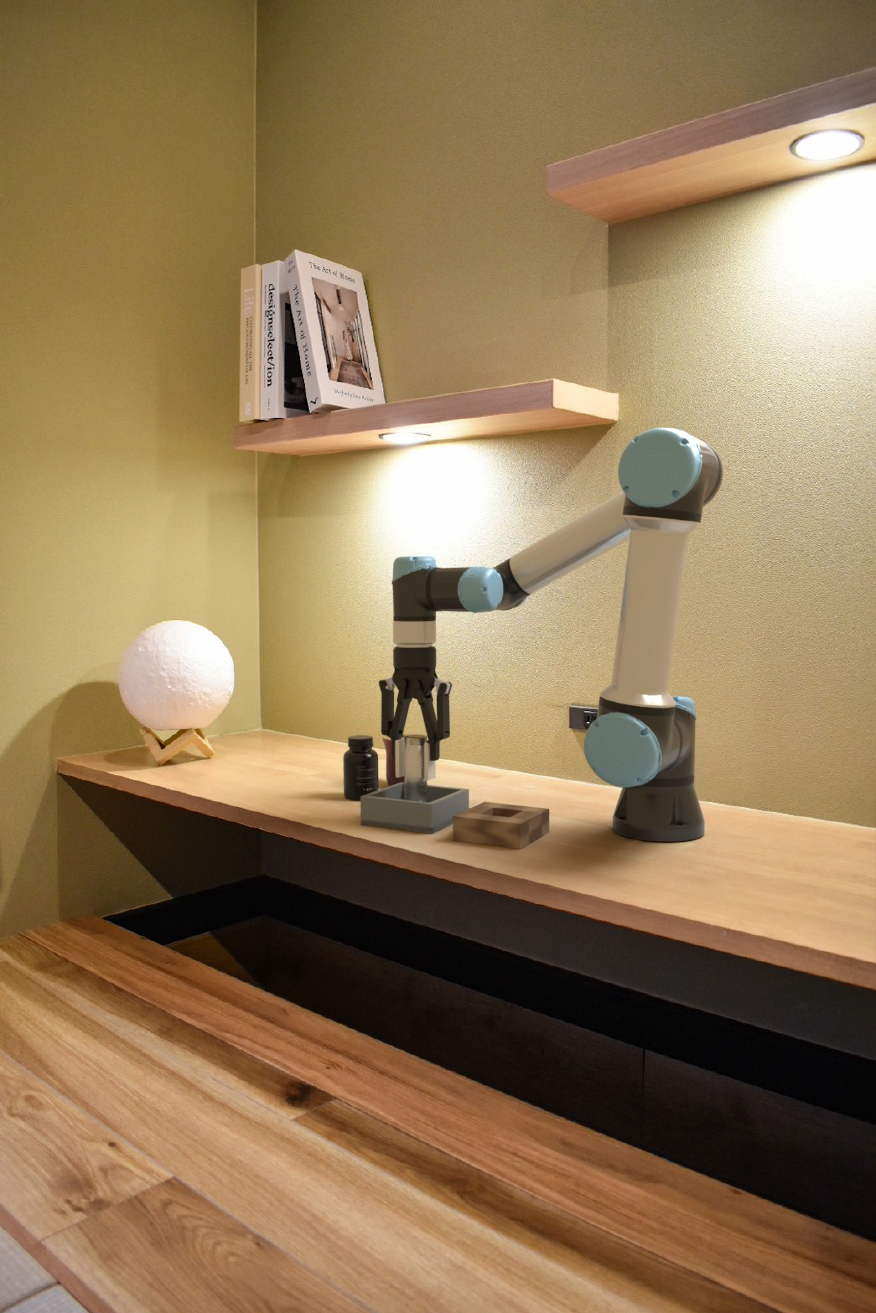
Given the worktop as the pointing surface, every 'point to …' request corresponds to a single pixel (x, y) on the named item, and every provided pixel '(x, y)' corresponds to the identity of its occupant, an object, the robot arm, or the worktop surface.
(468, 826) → the socket block
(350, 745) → the supplement bottle
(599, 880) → the worktop surface
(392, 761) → the mug
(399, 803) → the tray
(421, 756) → the pin
